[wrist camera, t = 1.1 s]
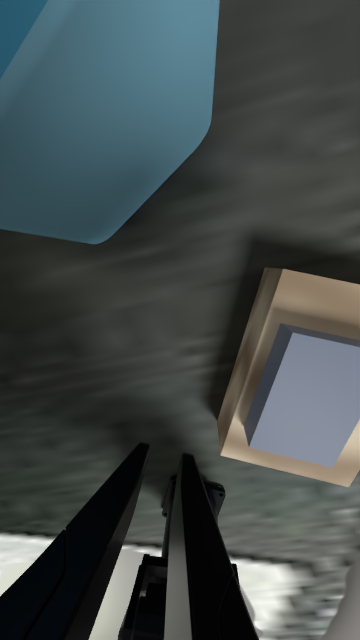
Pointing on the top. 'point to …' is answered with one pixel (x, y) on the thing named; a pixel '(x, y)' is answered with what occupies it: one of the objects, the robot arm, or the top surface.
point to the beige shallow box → (266, 315)
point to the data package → (98, 108)
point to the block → (306, 396)
